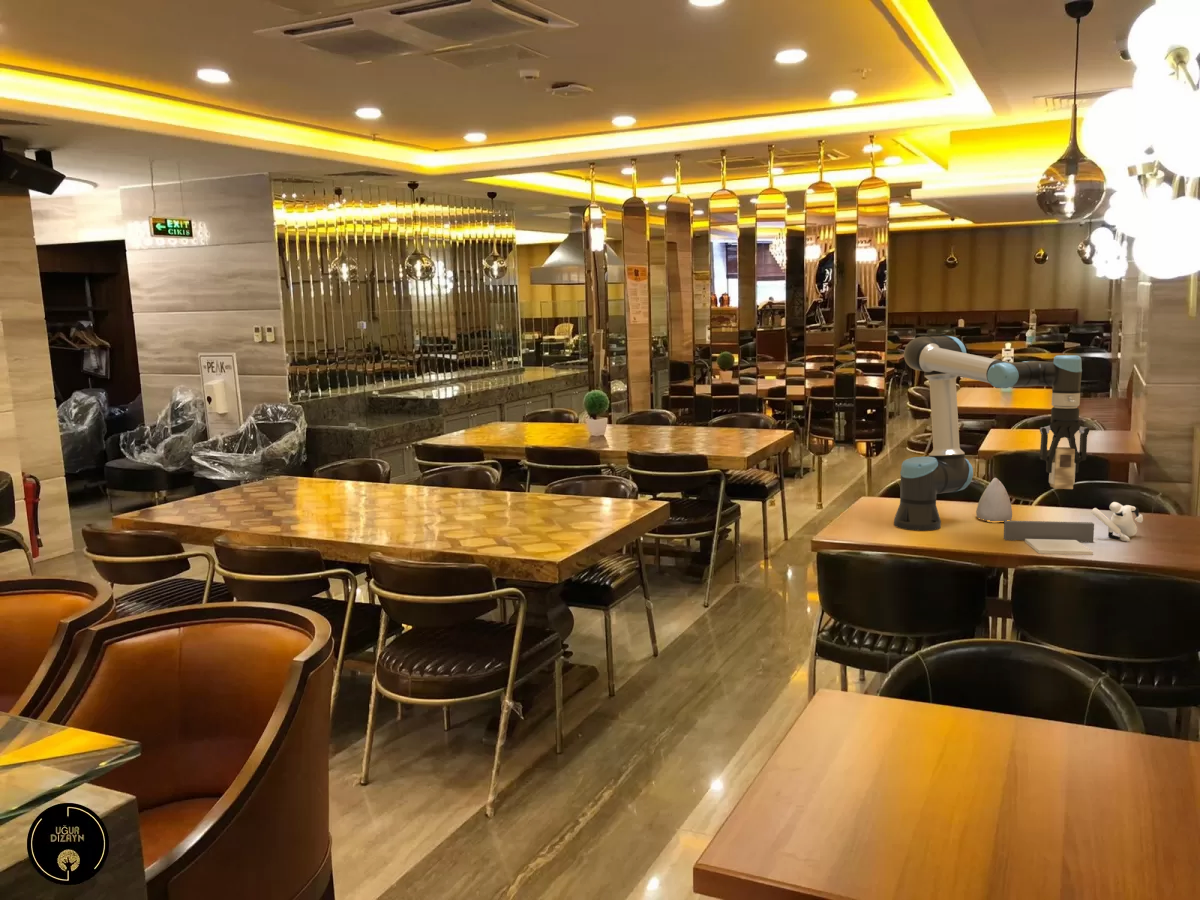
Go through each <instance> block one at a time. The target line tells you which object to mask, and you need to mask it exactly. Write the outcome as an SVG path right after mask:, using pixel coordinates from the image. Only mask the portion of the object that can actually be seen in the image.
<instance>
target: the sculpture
mask: <svg viewBox="0 0 1200 900" xmlns="http://www.w3.org/2000/svg"><path fill="white" fill-rule="evenodd" d="M975 513H976V518H980V519H979V520H982V519H984V520H983V521H986V520H990V521H1007V520H1010V521H1012V519H1013V508H1012V504H1011V500H1010V496H1009V494H1008V492H1007V489H1006V488H1005V486H1004V484H1003V483H1002V481H1000V480H999V479H998V478H997V477H994V478H993V479H992V480H991V481H990V482H989V484H988V485H987V486H986V488H985V490H984V491H983V493H982V494H981V497H980V499H979V501H978V504H977V507H976V511H975Z"/></svg>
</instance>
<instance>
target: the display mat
mask: <svg viewBox="0 0 1200 900" xmlns="http://www.w3.org/2000/svg"><path fill="white" fill-rule="evenodd" d="M1024 543H1026V544H1027V545H1028V546H1029V547H1030V548H1032V550H1034V551H1035V552H1036V553H1038V554H1039V555H1040V554H1042V555H1045V554H1046V555H1075V556H1076V555H1081V556H1082V555H1084V556H1093V555H1094V551H1093V550H1091V549H1090V548H1088V547H1087V546H1085V545H1084V544H1083V543H1082V542H1078V541H1077V540H1056V539H1025V541H1024Z"/></svg>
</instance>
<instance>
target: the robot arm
mask: <svg viewBox="0 0 1200 900" xmlns="http://www.w3.org/2000/svg"><path fill="white" fill-rule="evenodd" d="M903 358H904V361H905V363H906V365H907V366H908V367H909V368H910V369H913V370H915V371H921V372H924V373H923V374H924V378H926V379H927V381H929V397H930V400H929V401H930V415H931V427H932V428H931V430H932V431H931V433H932V434H931V435H932V447H933V448H932V451H931V452H930V453H929V454H928V456H915V457H909V458H907V459H904V460H903V461H902V463H901V468H900V488H899V490H900V493H899V494H900V495H899V496H900V497H899V505H898V507H897V510H896V514H895V516H894V520H893V525H894V527H896V528H899V529H902V530H903V529H904V530H908V531H923V532H924V531H927V532H928V531H936V530H939V529H941V525H942V520H941V517H940V514H939V511H938V508H937V495H939V494H946V493H957V492H959V491H963V490H965V489H966V488H968V486H969V485H970V484H971V483H972V480H973V476H974V468H973V465H972V463H970V461H969V459H967V458H966V455H965V451H964V450H962V449H961V446H960V432H959V431H960V430H959V415H958V414H959V413H958V411H959V409H958V396H957V378H958V377H961V378H966V379H969V380H974V381H979V382H984V383H987V384H990V385H991V386H992V387H994V388H997V389H999V388H1000V389H1009V388H1020V387H1021V388H1022V387H1037V386H1039V387H1051V388H1052V389H1051V390H1052V391H1051V392H1052V393H1051V406H1052V408H1051V409H1050V411H1051V412H1050V422H1049V424H1048V425H1047V426H1044V427H1042V426H1041V427H1039V432H1040V449H1039V450H1040V451H1039V459H1040V460H1042V461H1044V462H1046V463H1045V472H1046V473H1048V474H1049V475H1048V483H1049V484H1050V483H1051V484H1054V476H1055V463H1054V462H1052V461H1053V458H1054V455H1055V452H1056V449H1057V447H1059V442H1060V441H1061V439H1064V438H1065V439H1067V442H1068V445H1069V447H1070V448H1072V449H1075V459H1074V478H1073V485H1075V479H1076V474H1078V473H1079V467H1080V463H1081V462H1083V461H1086V460H1087V450H1088V449H1087V445H1088V444H1087V443H1088V435H1089V432H1090V428H1088V427H1085V426H1081V424H1080V421H1079V420H1080V408H1078V407H1079V406H1080V402H1081V383H1082V382H1081V381H1082V372H1083V369H1082V367H1083V366H1082V357H1081V356H1079V355H1077V354H1076V355H1066V354H1065V355H1060V354H1059V355H1055V356H1054V357H1053V361H1039V360H1027V361H1025V360H1024V361H1019V362H1018V361H1017V362H1012V361H1006V360H1000V359H996V358H990V357H986V356H981V355H976V354H972V353H971V354H970V353H967V349H966V346H965V344H964V343H963V342H962V341H961V340H960V339H959V338H958V337H955V336H950V335H938V336H937V335H936V336H934V335H933V336H918V337H915V338H912V339H911V340H910V341H909V342H908V343H907V345H905V348H904V351H903ZM1050 431H1051V432H1052V434H1053V435H1052V440H1051V443H1050V447H1049V449H1048V442H1049V441H1048V440H1049V439H1048V437H1049V436H1048V435H1049V433H1050ZM1078 431H1079V432H1078ZM1076 433H1079V451H1078V448H1077V443H1076V436H1075V435H1076Z"/></svg>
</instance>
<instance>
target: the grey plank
mask: <svg viewBox="0 0 1200 900" xmlns="http://www.w3.org/2000/svg"><path fill="white" fill-rule="evenodd" d="M1094 531H1095V523H1094V522H1091V521H1090V522H1087V521H1051V520H1049V521H1045V520H1043V521H1041V520H1010V521H1004V524H1003V540H1004V539H1005V540H1004V541H1015V540H1023V541H1024V542H1025V539H1056V540H1077V541H1078V542H1080V543H1094V536H1095V535H1094V533H1095V532H1094ZM1023 541H1022V542H1023Z"/></svg>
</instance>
